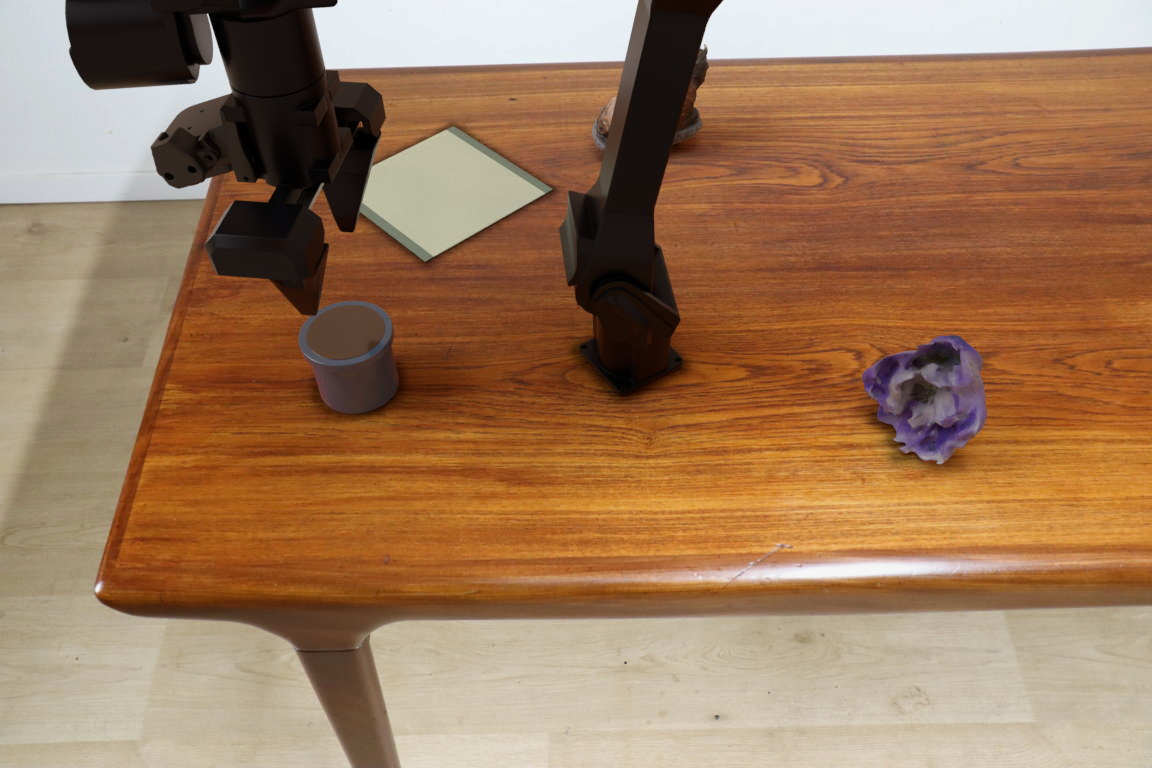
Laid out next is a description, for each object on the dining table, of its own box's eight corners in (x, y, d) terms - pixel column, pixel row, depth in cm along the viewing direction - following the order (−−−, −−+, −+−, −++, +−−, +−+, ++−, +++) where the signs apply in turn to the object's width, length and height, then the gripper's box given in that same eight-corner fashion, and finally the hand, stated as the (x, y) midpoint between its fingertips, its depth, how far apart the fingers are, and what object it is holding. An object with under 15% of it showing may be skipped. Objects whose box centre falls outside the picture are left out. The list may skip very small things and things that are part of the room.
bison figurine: (602, 170, 97) (603, 81, 90) (582, 134, 102) (582, 45, 94) (711, 150, 99) (721, 61, 92) (687, 115, 104) (695, 28, 96)
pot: (419, 393, 77) (408, 340, 72) (336, 431, 74) (320, 379, 69) (380, 341, 81) (368, 287, 76) (301, 375, 78) (283, 322, 74)
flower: (938, 290, 74) (926, 321, 66) (1022, 366, 73) (1020, 408, 65) (854, 368, 79) (832, 407, 70) (931, 441, 78) (919, 488, 69)
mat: (552, 189, 95) (552, 189, 95) (425, 262, 88) (425, 261, 88) (453, 126, 103) (453, 126, 103) (328, 188, 96) (328, 187, 96)
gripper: (208, -5, 64) (266, 187, 76) (77, 152, 52) (170, 353, 63) (368, 3, 63) (402, 196, 75) (274, 165, 51) (332, 367, 62)
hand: (329, 270), depth 69 cm, fingers open, 9 cm apart
